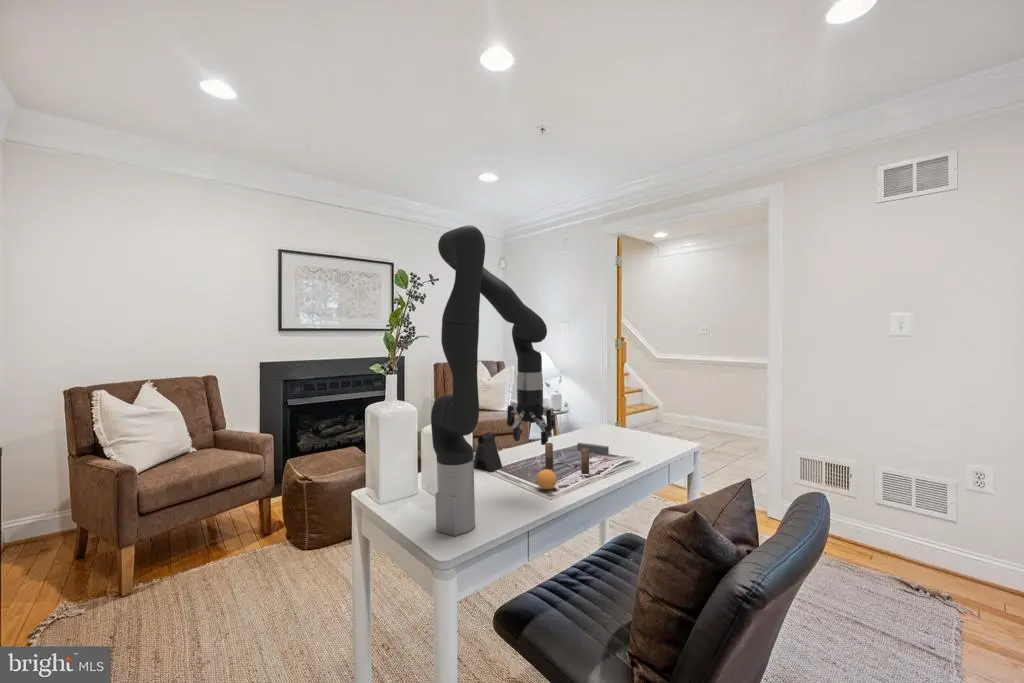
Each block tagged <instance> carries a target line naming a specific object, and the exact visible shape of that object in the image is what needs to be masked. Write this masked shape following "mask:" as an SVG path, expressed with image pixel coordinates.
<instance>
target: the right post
mask: <svg viewBox="0 0 1024 683" xmlns="http://www.w3.org/2000/svg"><path fill="white" fill-rule="evenodd" d="M580 453H581V467H580V470H581V471H580V472H581V473H582V474H589V475H590V469H589V455H590V452H589V448H581V451H580Z"/></svg>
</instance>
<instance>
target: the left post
mask: <svg viewBox="0 0 1024 683" xmlns="http://www.w3.org/2000/svg"><path fill="white" fill-rule="evenodd" d="M553 445H554V444H553V443H552V442H547V443H546V444H545V445H544V446H545V447H544V449H545V454H544V455H545V458H544V459H545V460H544V461H545V469H549V470H551V469H553V470H554V446H553Z"/></svg>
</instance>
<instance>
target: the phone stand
mask: <svg viewBox="0 0 1024 683" xmlns="http://www.w3.org/2000/svg"><path fill="white" fill-rule="evenodd" d="M501 460H502V459H501V458H500V454H499V450H498V447H497V443H496V435H495V433H494V432H487V433H485V434H483V435H480V436H478V438H477V448H476V451H475V455H474V470H480V471H483V472H488V473H491V472H492V473H493V471H494V472H495V470H496V471H498V470H500V469H502V468H503V464H502V461H501ZM497 469H498V470H497Z"/></svg>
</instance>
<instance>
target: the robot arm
mask: <svg viewBox="0 0 1024 683" xmlns="http://www.w3.org/2000/svg"><path fill="white" fill-rule="evenodd" d="M437 249H438V253H439V255H440V257H441V258H442V260H443V261H444V262H445V263H446V264H447V265H448V266H449V267H450V268H452V269H453V270H454V271H455V274H454V275H455V276H454V282H453V287H452V289H451V290H452V291H451V293H450V295H449V297H448V300H447V302H446V305H445V307H444V310H443V313H442V317H441V318H442V319H441V334H440V335H441V338H440V339H441V342H440V343H441V346H442V351H443V353H444V356H445V359H446V361H447V364H448V366H449V370H450V373H451V377H452V394H444V395H441V396H439V397H438V398H436V400H435V402H434V403H433V404H432V408H431V412H430V413H431V414H430V426H431V435H432V436H431V438H432V447H433V450H434V453H435V455H436V479H437V480H436V481H437V492H436V493H435V495H434V497H435V498H434V499H435V500H434V501H435V531H436V532H439V533H442V534H443V533H444V534H447V535H450V536H453V537H457V536H459V535H463V534H466V533H468V532H471V531H472V530H473V529H474V528H475V527H476V505H475V504H476V502H475V500H476V499H475V497H476V496H475V469H474V458H475V455H474V448H473V446H472V445H471V444H470V443H469V442H468V441H467V440H466V438H465V437H464V436H469V435H471V434H472V433H473V431H474V430H476V428H477V426H478V422H479V418H480V401H479V386H478V385H479V384H478V381H479V380H478V354H479V350H478V348H479V336H480V334H479V333H480V332H479V331H480V306H481V305H480V304H481V295H482V296H483V297H484V298H485V299H486V300H487V301H488V302H489V303H490V304H491V305H492V307H493V309H495V310H496V312H497V313H498V314H499V315H500V316H501V318H502V319H503V320H504V321H505V322H506V323H509V324H513V325H512V330H511V338H512V342H513V346H514V350H515V354H516V357H517V376H516V401H517V405H515V404H511V405H508V406H507V412H506V413H507V414H506V416H507V417H506V425H507V426H510V427H511V428H512V436H513V437H512V438H513V439H514V441H515V442H519V441H520V440H521V427H520V426H521V425H522V423H528V422H529V423H532V424H534V423H535V424H536V426H538V427H539V429H540V431H541V432H540V442H541V443H540V444H541V446H545V444H546V443H549V432H550V431H553V430H554V429H555V426H556V425H555V414H554V413H555V412H554V411H555V410H554V408H552V407H550V408H544V379H543V361H542V360H543V359H542V358H543V357H542V354H541V352H539V351H538V350H535V349H534V346H533V344H536V343H541V342H542V341H544V340H545V339H546V337H547V335H548V329H547V324H546V322H545V321H544V320H543V318H542V317H541V316H540V315H539V314H538V313H536V312H535V311H534V310H532V308H530V307H528V306H527V305H526V304H524V303H523V301H522V300H521V298H520V297H519V296H518V295H517V293H516V292H515V291H514V290H513V289H512V288H511V287H510V286H509V285H508V284H507V283H505V282H504V281H503V280H502V279H500V278H499V277H498V276H496V275H494V274H493V273H491V271H489V270H488V269H486V268H485V267H484V264H485V259H486V258H485V257H486V241H485V238H484V235H483V233H482V231H481V230H480V229H479V228H477V226H475V225H463V226H460V227H457V228H454V229H451V230H448V231H446V232H444V233H443V234H442V235H441V236H440V237H439V240H438V242H437ZM516 412H517V414H518V416H517V418H516V417H515V416H516V415H515V414H516ZM543 415H544V416H545V418H546V419H545V418H544V417H543ZM515 418H516V419H515ZM474 432H475V431H474Z"/></svg>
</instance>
